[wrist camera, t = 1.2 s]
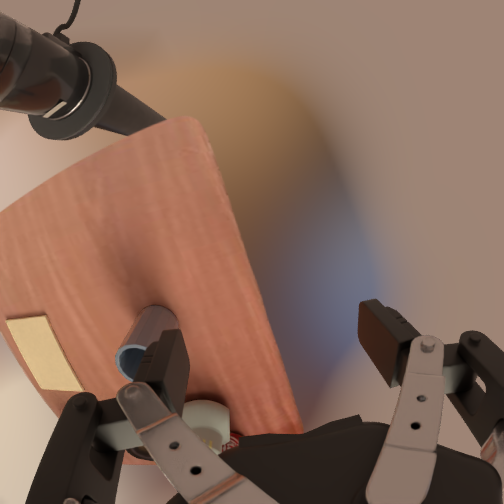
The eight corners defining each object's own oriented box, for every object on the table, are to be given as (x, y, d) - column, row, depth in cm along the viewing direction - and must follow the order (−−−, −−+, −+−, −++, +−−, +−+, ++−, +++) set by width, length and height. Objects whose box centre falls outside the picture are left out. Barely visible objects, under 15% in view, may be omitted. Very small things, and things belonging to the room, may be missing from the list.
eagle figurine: (164, 427, 44) (120, 432, 42) (172, 462, 39) (126, 466, 38) (173, 431, 50) (134, 436, 48) (181, 463, 45) (140, 467, 43)
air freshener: (178, 389, 43) (169, 434, 33) (229, 392, 43) (229, 438, 34) (185, 429, 46) (180, 470, 36) (230, 431, 46) (230, 473, 37)
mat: (7, 319, 38) (5, 320, 37) (46, 314, 38) (44, 316, 37) (42, 387, 42) (41, 389, 42) (84, 389, 42) (83, 391, 42)
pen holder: (132, 308, 38) (107, 346, 29) (172, 302, 38) (155, 341, 29) (146, 344, 40) (127, 387, 30) (184, 339, 40) (173, 384, 30)
